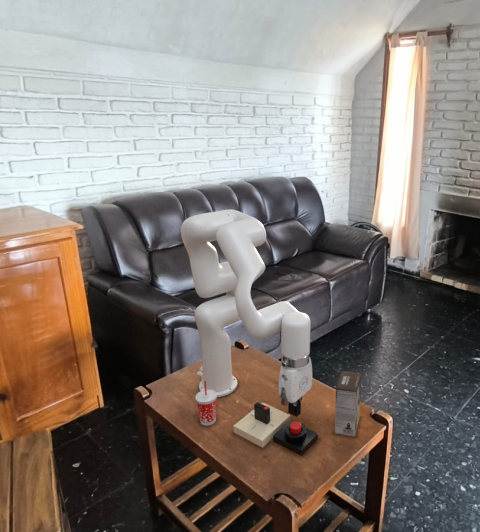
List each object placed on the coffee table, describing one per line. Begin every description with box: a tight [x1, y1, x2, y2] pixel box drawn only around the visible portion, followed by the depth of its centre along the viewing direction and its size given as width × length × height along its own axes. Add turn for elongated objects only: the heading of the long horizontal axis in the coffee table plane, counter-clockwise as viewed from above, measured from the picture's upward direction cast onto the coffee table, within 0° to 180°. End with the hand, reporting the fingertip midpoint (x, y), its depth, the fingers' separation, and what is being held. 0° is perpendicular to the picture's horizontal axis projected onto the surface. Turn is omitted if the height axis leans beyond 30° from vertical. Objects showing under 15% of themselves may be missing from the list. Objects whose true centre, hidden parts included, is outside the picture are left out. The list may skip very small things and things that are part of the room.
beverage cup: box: [195, 381, 218, 427], centre depth 130 cm, size 6×6×14 cm
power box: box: [272, 419, 319, 457], centre depth 125 cm, size 10×8×4 cm
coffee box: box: [334, 370, 363, 437], centre depth 130 cm, size 9×6×16 cm
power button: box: [290, 421, 302, 434], centre depth 124 cm, size 3×3×2 cm
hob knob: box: [253, 401, 270, 424], centre depth 129 cm, size 5×2×5 cm, turn 58°
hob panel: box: [232, 402, 291, 448], centre depth 130 cm, size 11×13×3 cm
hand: (294, 413), depth 123 cm, fingers closed
